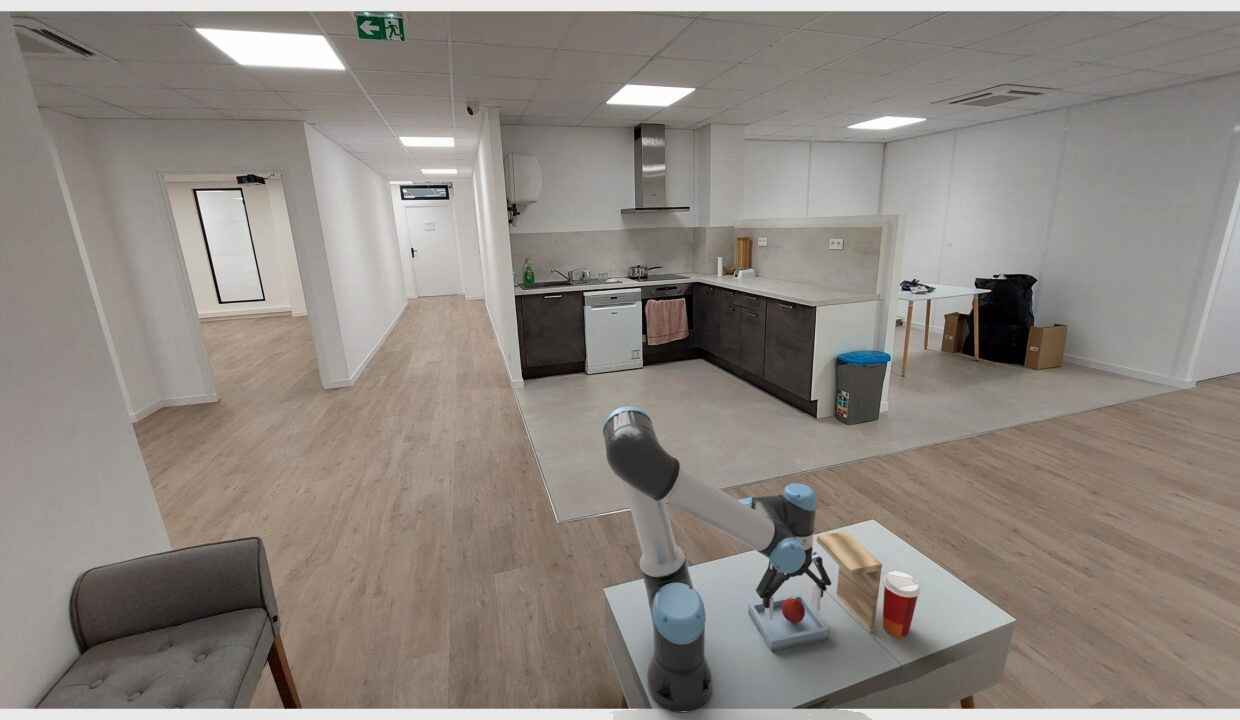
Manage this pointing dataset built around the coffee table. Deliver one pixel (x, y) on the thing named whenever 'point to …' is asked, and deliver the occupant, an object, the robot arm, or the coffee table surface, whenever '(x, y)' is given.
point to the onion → (793, 610)
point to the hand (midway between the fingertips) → (792, 611)
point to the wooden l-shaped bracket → (855, 575)
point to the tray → (787, 625)
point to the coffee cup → (899, 603)
